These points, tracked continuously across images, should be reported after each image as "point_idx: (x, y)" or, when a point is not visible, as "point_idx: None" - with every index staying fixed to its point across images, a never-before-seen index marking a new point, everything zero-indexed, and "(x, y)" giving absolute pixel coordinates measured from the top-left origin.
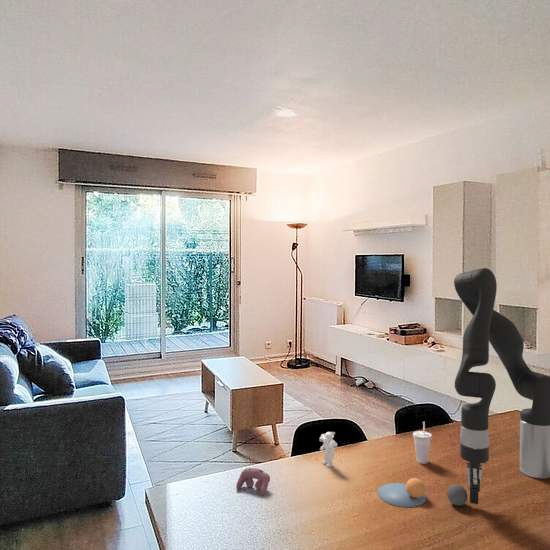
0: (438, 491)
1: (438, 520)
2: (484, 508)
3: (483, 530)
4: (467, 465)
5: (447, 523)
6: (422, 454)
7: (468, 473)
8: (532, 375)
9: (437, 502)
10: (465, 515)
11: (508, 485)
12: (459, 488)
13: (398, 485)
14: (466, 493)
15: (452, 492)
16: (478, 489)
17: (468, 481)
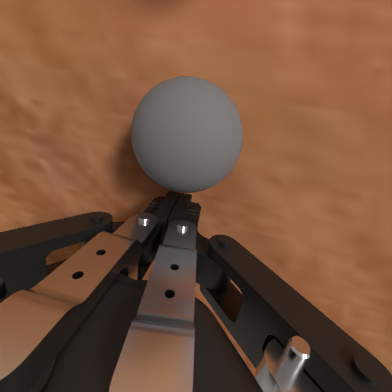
0: (321, 52)
1: (25, 17)
2: None
3: (39, 192)
4: (116, 380)
5: (21, 62)
6: None
7: (30, 293)
8: None
9: (193, 31)
10: (113, 152)
11: (365, 343)
12: (153, 155)
13: None
14: (167, 188)
15: (142, 103)
16: (57, 265)
17: (101, 236)
